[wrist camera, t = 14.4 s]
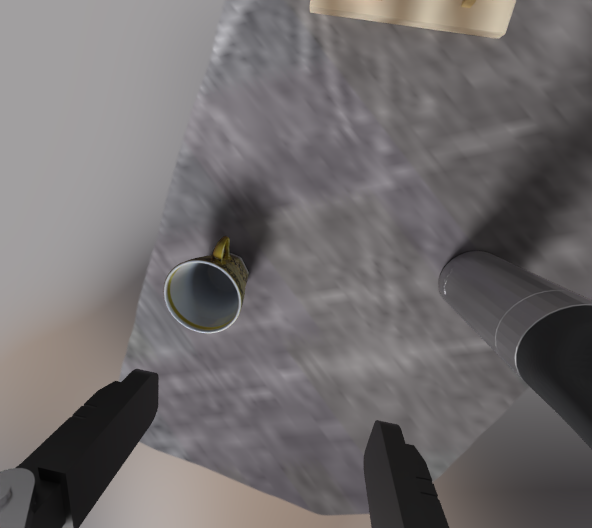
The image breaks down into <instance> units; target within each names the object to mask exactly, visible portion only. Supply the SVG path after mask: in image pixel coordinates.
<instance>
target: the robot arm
mask: <svg viewBox="0 0 592 528" xmlns="http://www.w3.org/2000/svg"><path fill="white" fill-rule="evenodd" d="M439 291H440V294H441V296H442V297H443V299H444V300H445V301H446V302H447V303H448V304H449V305H450V306H451V307H452V308H453V309H454V310H455V311H456V313H457V314H458V315H459V316H460V317H461V318H462V319H463V320H464V321H465V322H466V323H467V324H468V325H469V326H470V327H471V328H472V329H473V330H474V331H475V332H476V333H477V334H478V335H479V336H480V337H481V338H482V339H483V340H484V341H485V342H486V343H487V344H488V345H489V346H490V347H491V348H492V349H493V350H494V351H495V352H496V353H497V354H498V355H499V356H500V357H501V358H502V359H503V360H504V361H505V362H506V363H507V364H508V365H509V366H510V367H511V368H512V369H513V370H514V371H515V372H516V373H517V374H518V375H519V376H520V377H521V378H522V379H523V380H524V381H525V382H526V383H527V384H528V385H529V386H530V387H531V388H532V389H533V390H534V391H535V392H536V393H537V394H538V395H539V396H540V397H541V398H542V399H543V400H544V401H545V402H546V403H547V404H548V405H549V406H550V407H552V408H553V409H554V410H555V411H556V412H557V413H558V414H559V415H560V416H561V417H562V418H563V420H565V422H567V424H568V425H569V426H570V427H571V428H572V429H573V430H574V431H575V432H576V433H577V434H578V435H579V436H580V437H581V438H582V440H583V441H584V442H585V443H586V444H587V445H588V446H589V447H590V448H591V449H592V300H590V299H588V298H586V297H584V296H582V295H580V294H577V293H575V292H573V291H570V290H568V289H566V288H564V287H562V286H560V285H557V284H555V283H553V282H551V281H549V280H547V279H544V278H542V277H540V276H538V275H536V274H534V273H531V272H529V271H527V270H525V269H523V268H521V267H518V266H516V265H514V264H512V263H510V262H508V261H506V260H503V259H501V258H499V257H497V256H495V255H492V254H490V253H488V252H483V251H471V252H466V253H463V254H461V255H458V256H457V257H455V258H454V259H452V260H451V261H450V262H449V263H448V264H447V265H446V266H445V268H444V269H443V270H442V273H441V275H440V278H439ZM157 409H158V374H157V373H154V372H149V371H144V370H140V369H135V370H133V371H132V372H131V373H130V374H129V375H128V376H127V377H126V378H125V379H124V380H123V381H122V382H118V381H115V382H113V383H111V384H109V385H107V386H105V387H104V388H102V389H100V390H98V391H97V392H96V393H95V394H94V395H93V396H92V397H91V398H90V399H89V400H88V401H87V402H86V403H85V404H84V406H81V407H80V408H79V409H78V410H77V411H76V412H75V413H74V414H73V416H72V417H70V418H69V419H68V420H67V421H66V422H64V424H62V425H61V426H60V427H59V428H58V429H57V430H56V431H55V432H54V433H53V434H52V435H51V436H50V437H49V438H48V439H46V440H45V441H44V442H43V443H42V444H41V445H40V446H39V447H38V448H37V449H36V450H35V451H34V452H33V453H32V454H31V455H30V456H29V457H28V458H26V459H25V460H24V461H23V462H22V463H21V464H20V465H19V466H17V467H16V468H14V469H8V470H4V471H1V472H0V528H79V526H80V525H81V524H82V522H83V521H84V519H85V518H86V516H87V515H88V513H89V512H90V511H91V509H92V508H93V506H94V505H95V504H96V502H97V501H98V499H99V498H100V496H101V495H102V493H103V492H104V491H105V489H106V488H107V486H108V485H109V483H110V482H111V481H112V479H113V478H114V476H115V475H116V473H117V472H118V471H119V469H120V468H121V466H122V464H123V463H124V462H125V461H126V459H127V458H128V456H129V455H130V453H131V452H132V451H133V449H134V447H135V446H136V445H137V443H138V442H139V441H140V439H141V438H142V436H143V435H144V433H145V432H146V431H147V429H148V428H149V426H150V425H151V423H152V421H153V420H154V417H155V415H156V412H157ZM364 475H365V483H366V490H367V497H368V504H369V512H370V519H371V526H372V528H449V526H448V523H447V520H446V518H445V515H444V512H443V509H442V507H441V504H440V501H439V500H438V498H437V496H438V495H437V493H436V490H435V487H434V484H432V479H431V476H430V473H429V470H428V467H427V465H426V462H425V461H424V459H423V458H422V456H421V455H420V453H419V452H418V451H417V449H416V448H415V446H414V445H409V444H405V441H404V437H403V434H402V431H401V428H400V426H399V425H397V424H392V423H387V422H383V421H378V420H377V421H375V423H374V426H373V429H372V432H371V435H370V438H369V441H368V444H367V447H366V450H365V454H364Z"/></svg>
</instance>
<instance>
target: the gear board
mask: <svg viewBox="0 0 592 528" xmlns="http://www.w3.org/2000/svg"><path fill="white" fill-rule="evenodd" d="M515 2H516V0H310V12H311V13H318V14H325V15H333V16H340V17H347V18H354V19H361V20H368V21H376V22H383V23H390V24H397V25H404V26H411V27H418V28H426V29H433V30H440V31H447V32H454V33H461V34H469V35H476V36H483V37H490V38H497V39H499V38H500V37H501V36H503V35H504V34H505V33H506V30H507V27H508V24H509V21H510V18H511V15H512V11H513V8H514V5H515Z"/></svg>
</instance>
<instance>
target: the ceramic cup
mask: <svg viewBox="0 0 592 528" xmlns="http://www.w3.org/2000/svg"><path fill="white" fill-rule="evenodd" d="M229 244H230V239H229V238H228V237H227V236H224V237H223V238H222V239H221V240H220V241H219V242H218V243H217V245H216V247H215V249H214V252H213V255H211V256H204V257H199V258H195V259H191V260H188V261H185V262H183V263H180V264H179V265H177V266H176V267H174V268H173V269H172V270H171V271H170V273H169V274H168V276H167V278H166V280H165V283H164V291H163V292H164V299H165V303H166V305H167V308H168V310H169V311H170V313H171V314H172V316H173V317H174V318H175V319H176V320H177V321H178V322H179V323H180V324H182V325H183V326H185V327H187V328H188V329H191V330H193V331H196V332H200V333H216V332H220V331H222V330H224V329H226V328H228V327H229V326H231V325H232V324H233V323H234V322H235V320H236V319H237V317H238V315H239V313H240V310H241V307H242V303H243V299H244V294H245V286H246V282H247V278H248V274H249V272H248V270H247V268H246V266H245V264H244V262H243V260H242V258H241V257H239V256H237V255H234V254H232V253H229V252H230V251H229ZM224 248H225V252H224Z"/></svg>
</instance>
